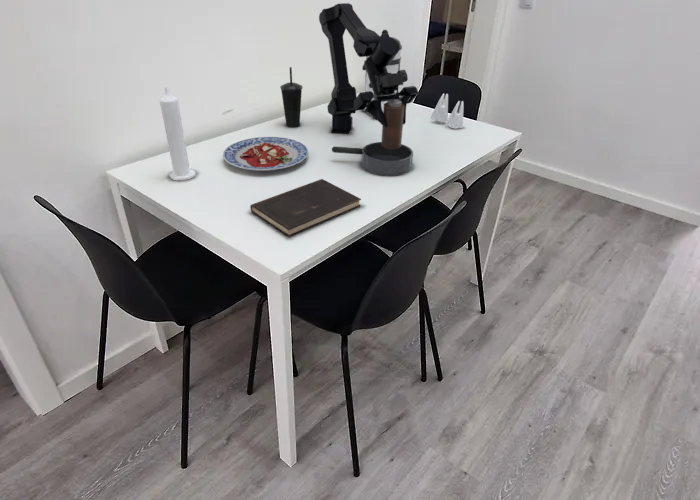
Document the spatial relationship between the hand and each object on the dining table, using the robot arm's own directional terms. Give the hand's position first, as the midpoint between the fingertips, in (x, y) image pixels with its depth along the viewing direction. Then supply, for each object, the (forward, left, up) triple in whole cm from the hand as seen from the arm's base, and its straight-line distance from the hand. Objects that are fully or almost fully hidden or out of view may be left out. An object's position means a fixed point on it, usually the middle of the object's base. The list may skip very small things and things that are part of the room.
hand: (395, 125), depth 138 cm
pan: (-2, +2, -13) cm, 14 cm away
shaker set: (+17, +42, -13) cm, 47 cm away
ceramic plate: (-39, 0, -13) cm, 41 cm away
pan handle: (-13, +2, -10) cm, 17 cm away
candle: (-59, -16, -13) cm, 62 cm away
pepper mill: (-1, +1, -7) cm, 7 cm away
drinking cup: (-38, +31, -13) cm, 51 cm away
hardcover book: (-20, -29, -13) cm, 38 cm away
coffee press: (-9, +51, -13) cm, 54 cm away
